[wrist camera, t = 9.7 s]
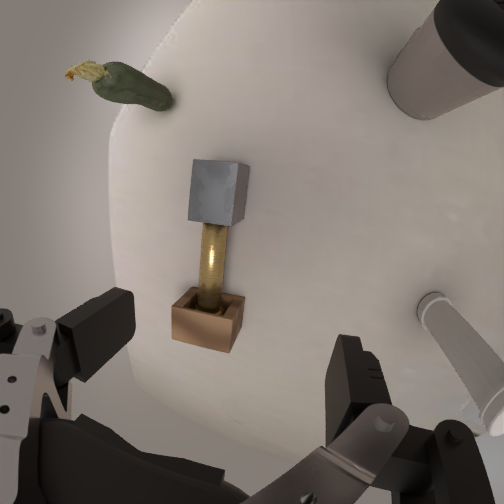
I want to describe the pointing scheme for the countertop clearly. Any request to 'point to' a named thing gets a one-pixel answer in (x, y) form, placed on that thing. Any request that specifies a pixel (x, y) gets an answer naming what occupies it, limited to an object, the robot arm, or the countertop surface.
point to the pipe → (467, 358)
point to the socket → (207, 322)
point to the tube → (211, 268)
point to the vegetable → (123, 84)
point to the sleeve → (218, 192)
